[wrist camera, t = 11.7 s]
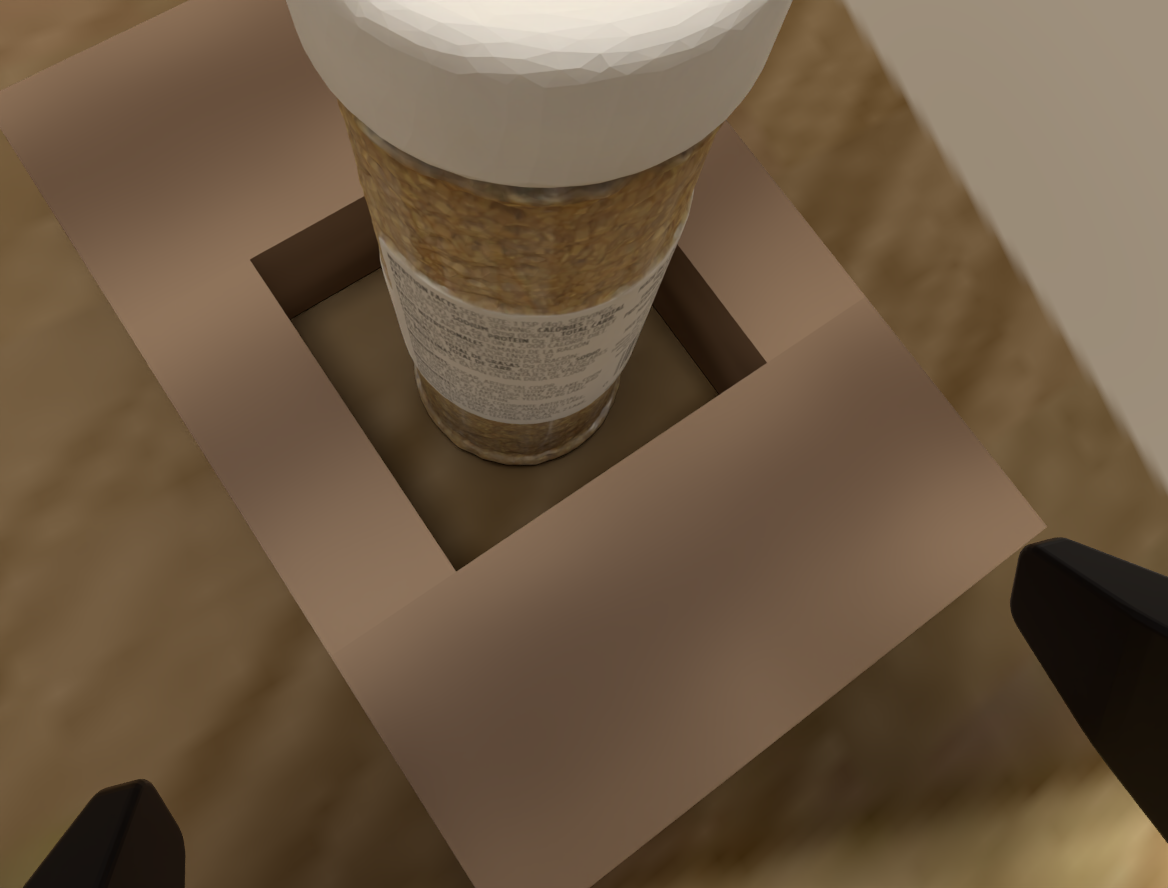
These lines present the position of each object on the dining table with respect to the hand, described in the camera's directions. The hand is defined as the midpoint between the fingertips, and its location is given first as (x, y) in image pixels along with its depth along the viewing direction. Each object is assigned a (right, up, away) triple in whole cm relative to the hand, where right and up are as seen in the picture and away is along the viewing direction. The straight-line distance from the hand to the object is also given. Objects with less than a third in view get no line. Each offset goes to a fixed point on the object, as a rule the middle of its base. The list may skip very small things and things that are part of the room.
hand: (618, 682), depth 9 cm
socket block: (-2, +4, +11) cm, 11 cm away
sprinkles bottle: (-2, +4, +11) cm, 12 cm away
